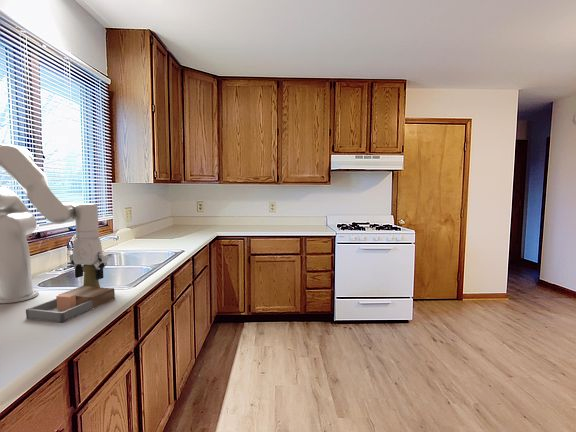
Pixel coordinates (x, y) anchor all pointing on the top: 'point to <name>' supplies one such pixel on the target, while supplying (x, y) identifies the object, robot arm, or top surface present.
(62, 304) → the tile
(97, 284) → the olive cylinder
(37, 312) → the box
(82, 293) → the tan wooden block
